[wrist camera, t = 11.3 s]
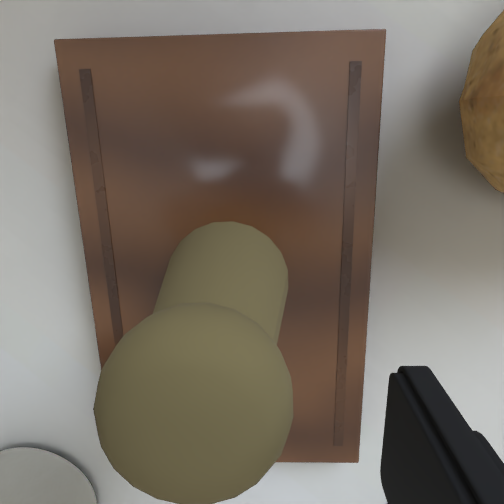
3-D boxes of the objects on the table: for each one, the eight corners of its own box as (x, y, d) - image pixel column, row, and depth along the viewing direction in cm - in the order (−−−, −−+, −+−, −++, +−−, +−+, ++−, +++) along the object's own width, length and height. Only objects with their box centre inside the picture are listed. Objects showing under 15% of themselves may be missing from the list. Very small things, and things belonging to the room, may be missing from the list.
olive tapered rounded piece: (164, 329, 20) (56, 534, 10) (169, 214, 19) (46, 312, 8) (280, 342, 20) (298, 560, 10) (296, 228, 19) (337, 344, 8)
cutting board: (69, 46, 18) (52, 38, 17) (376, 37, 18) (386, 28, 16) (122, 442, 24) (113, 462, 23) (352, 443, 24) (358, 463, 22)
